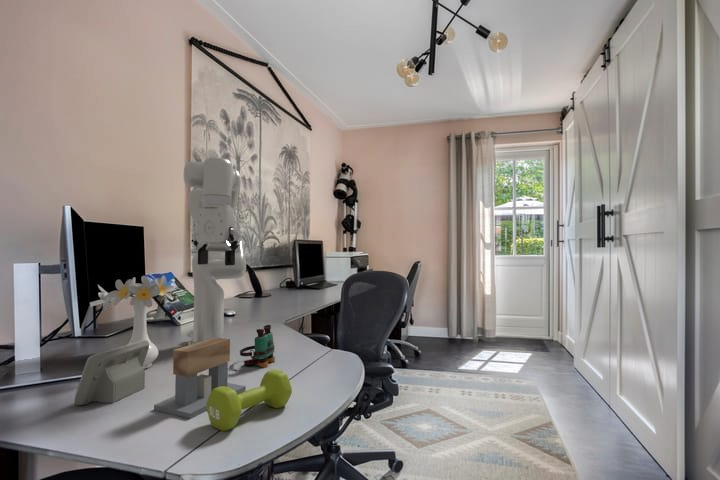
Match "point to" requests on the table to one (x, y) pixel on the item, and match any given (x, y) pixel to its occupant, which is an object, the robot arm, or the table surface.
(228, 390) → the dumbbell
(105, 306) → the flower vase
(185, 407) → the display stand
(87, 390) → the digital clock
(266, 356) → the binoculars
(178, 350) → the tan bar
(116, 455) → the table surface
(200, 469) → the table surface
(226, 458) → the table surface
